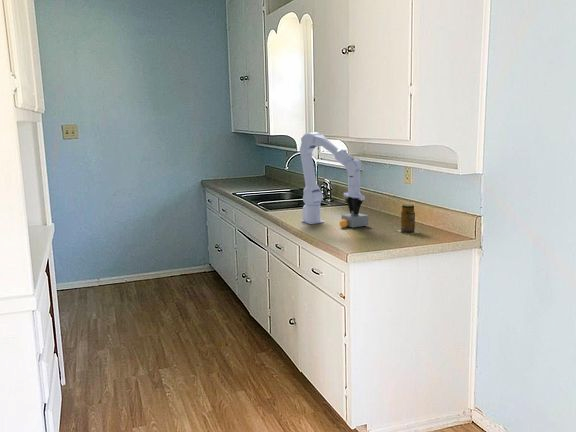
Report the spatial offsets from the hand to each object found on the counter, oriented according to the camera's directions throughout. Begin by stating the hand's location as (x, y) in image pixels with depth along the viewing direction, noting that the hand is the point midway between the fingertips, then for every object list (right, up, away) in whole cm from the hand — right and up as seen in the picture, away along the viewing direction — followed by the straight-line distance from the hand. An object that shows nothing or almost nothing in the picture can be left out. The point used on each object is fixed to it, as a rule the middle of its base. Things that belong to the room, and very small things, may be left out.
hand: (354, 213), depth 268 cm
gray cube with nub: (0, -5, +1) cm, 5 cm away
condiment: (+22, -8, -15) cm, 28 cm away
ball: (-5, -5, -2) cm, 7 cm away
